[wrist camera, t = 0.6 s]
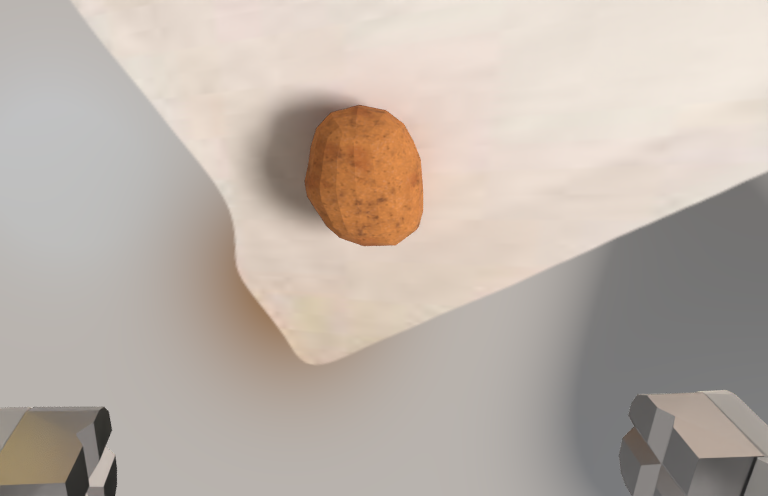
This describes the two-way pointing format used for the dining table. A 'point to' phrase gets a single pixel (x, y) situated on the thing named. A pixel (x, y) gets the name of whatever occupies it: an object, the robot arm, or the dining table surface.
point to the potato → (365, 177)
